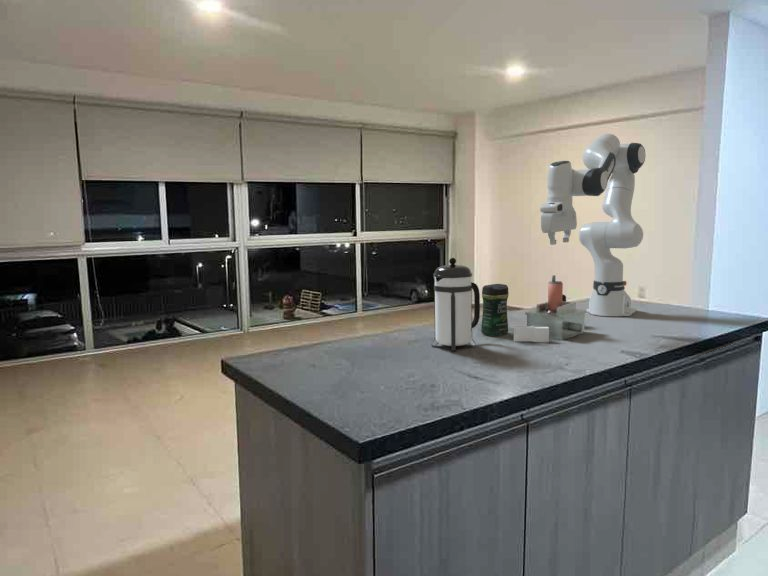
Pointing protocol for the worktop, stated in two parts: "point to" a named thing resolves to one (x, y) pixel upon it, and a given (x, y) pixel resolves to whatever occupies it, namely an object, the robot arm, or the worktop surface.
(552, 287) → the spout can
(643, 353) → the worktop surface
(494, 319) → the coffee jar
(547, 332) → the white stepped block
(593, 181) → the robot arm
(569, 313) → the pale green square box
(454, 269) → the coffee press
